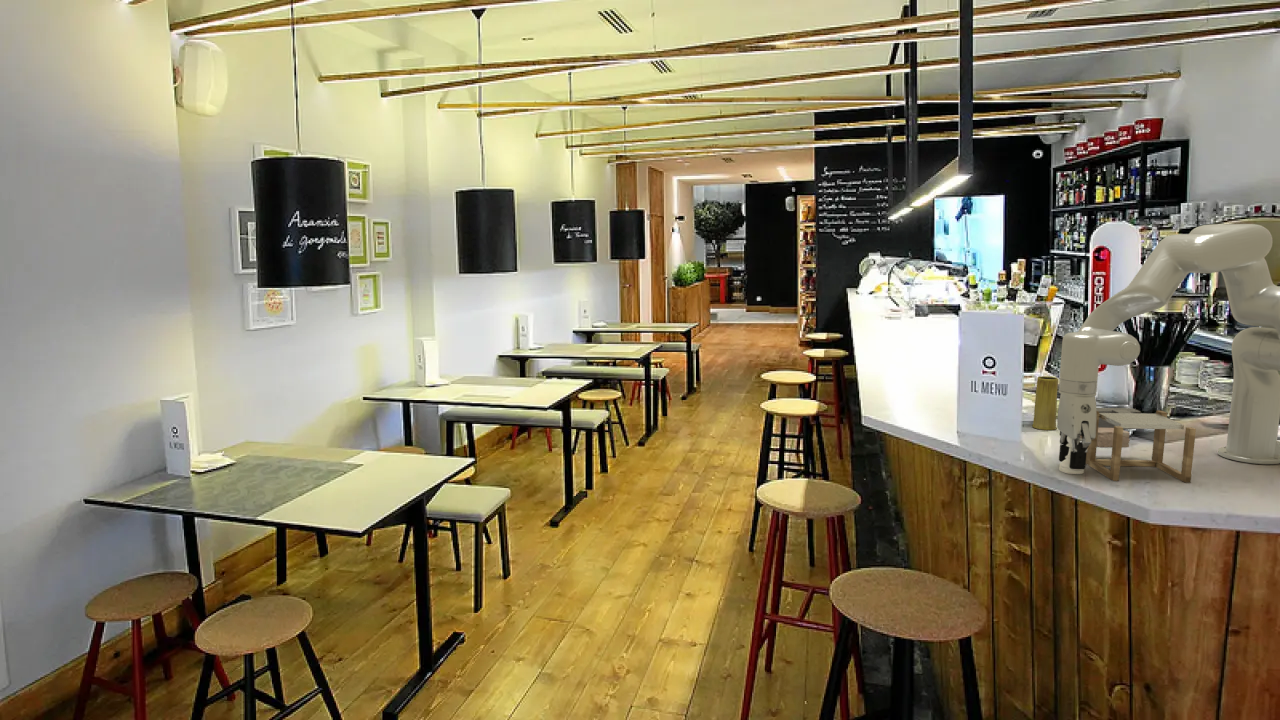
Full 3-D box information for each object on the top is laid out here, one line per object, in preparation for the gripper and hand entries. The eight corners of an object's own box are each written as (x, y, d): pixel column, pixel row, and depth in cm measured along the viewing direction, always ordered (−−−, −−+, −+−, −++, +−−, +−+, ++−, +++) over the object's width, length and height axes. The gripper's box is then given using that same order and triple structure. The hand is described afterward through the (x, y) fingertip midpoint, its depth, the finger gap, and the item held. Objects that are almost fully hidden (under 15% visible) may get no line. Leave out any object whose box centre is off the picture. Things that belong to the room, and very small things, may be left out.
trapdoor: (1081, 423, 196) (1082, 405, 195) (1137, 424, 194) (1139, 406, 194) (1119, 443, 177) (1121, 423, 176) (1182, 444, 175) (1184, 424, 175)
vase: (1057, 426, 226) (1061, 377, 224) (1055, 431, 221) (1059, 380, 218) (1033, 424, 229) (1036, 375, 227) (1030, 428, 224) (1034, 378, 222)
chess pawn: (1087, 471, 183) (1090, 433, 182) (1078, 475, 180) (1081, 437, 179) (1064, 466, 187) (1067, 429, 186) (1055, 471, 184) (1058, 433, 183)
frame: (1156, 464, 188) (1161, 410, 186) (1190, 482, 175) (1196, 424, 173) (1085, 463, 190) (1089, 409, 188) (1113, 480, 176) (1117, 423, 174)
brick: (1131, 448, 204) (1132, 430, 203) (1098, 448, 204) (1099, 430, 203) (1094, 433, 220) (1095, 416, 220) (1063, 433, 220) (1065, 416, 220)
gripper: (1113, 394, 172) (1106, 476, 175) (1079, 380, 189) (1073, 455, 191) (1076, 394, 173) (1070, 475, 176) (1045, 380, 189) (1040, 454, 192)
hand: (1071, 464), depth 183 cm, fingers closed on chess pawn, 5 cm apart
